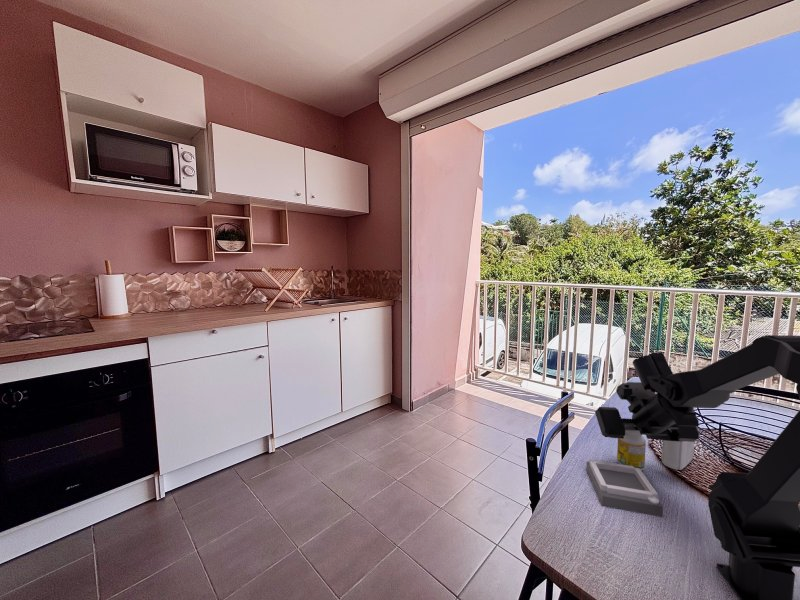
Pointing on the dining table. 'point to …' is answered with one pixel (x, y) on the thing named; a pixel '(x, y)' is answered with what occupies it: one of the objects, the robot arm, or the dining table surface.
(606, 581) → the dining table surface
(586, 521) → the dining table surface
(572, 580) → the dining table surface
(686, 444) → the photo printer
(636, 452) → the supplement bottle
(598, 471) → the grey square tray
